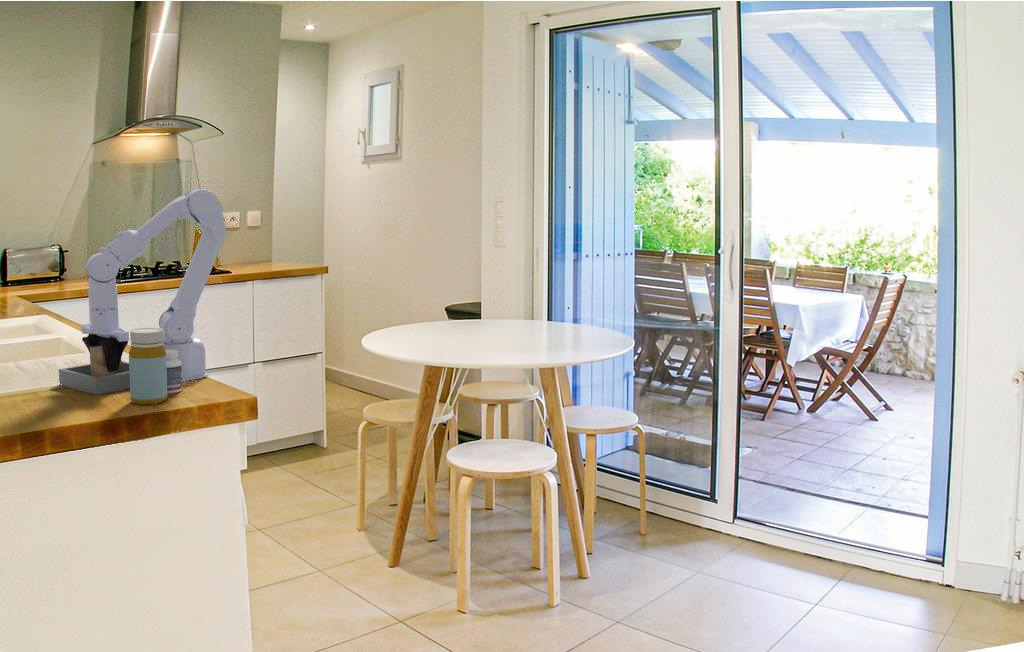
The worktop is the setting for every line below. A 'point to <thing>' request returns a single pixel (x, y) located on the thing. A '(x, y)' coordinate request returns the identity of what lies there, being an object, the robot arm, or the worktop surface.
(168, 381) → the pill bottle
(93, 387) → the bin
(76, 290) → the worktop surface
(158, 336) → the bottle
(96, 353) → the walnut block
